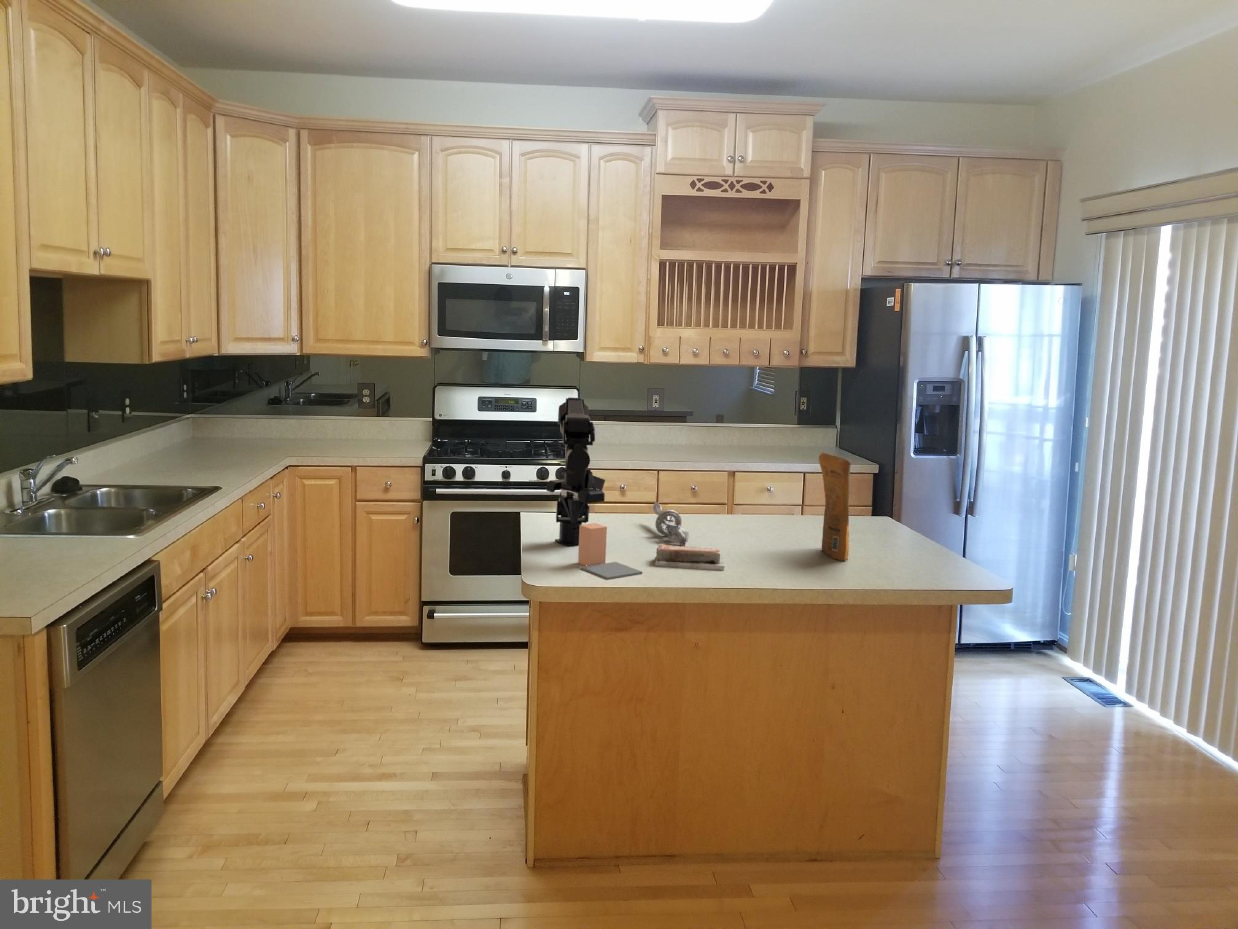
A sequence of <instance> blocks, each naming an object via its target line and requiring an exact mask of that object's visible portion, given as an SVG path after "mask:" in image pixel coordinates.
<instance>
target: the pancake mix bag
mask: <svg viewBox="0 0 1238 929" xmlns="http://www.w3.org/2000/svg"><path fill="white" fill-rule="evenodd" d="M818 463H819V466H820V470H821V473H822V482H823V491H824V492H823V493H824V498H825V499H824V500H825V503H824V504H825V506H824V513H823V524H822V525H823V526H822V536H821V537H822V539H821V549H822V550H823V551H822V550H821V551H822V552H824V553H825V554H826V555H828V556H829V557H830V558H831V557H832V558H833V559H834V560H836V559H838V560H837V561H841V562H843V561H844V562H845V561H846V560H848V559H849V552H850V543H849V542H850V533H849V532H850V525H849V522H850V520H849V519H850V518H849V517H850V504H849V502H850V475H851V466H852V463H851V462H850V461H849V460H848V459H845V458H843V457H840V456H838V455H837V456H836V455H832V454H828V453H825V452H821V453H820V454H819V455H818ZM832 558H831V559H832Z"/></svg>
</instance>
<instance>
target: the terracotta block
mask: <svg viewBox="0 0 1238 929" xmlns="http://www.w3.org/2000/svg"><path fill="white" fill-rule="evenodd" d="M607 529H608V527H607V526H606V525H602V524H599V523H596V522H592V523H582V525H580V528H579V544H578V556H577V558H578V559H577V560H578V561H577V563H578V562H579V563H578V564H580V565H583V566H585V565H587V566H591V565H598V564H604V563H606V555H607V554H606V553H607V552H606V551H607Z"/></svg>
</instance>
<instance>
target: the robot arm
mask: <svg viewBox="0 0 1238 929" xmlns="http://www.w3.org/2000/svg"><path fill="white" fill-rule="evenodd" d="M557 415H558V416H557V424H558V425H559V426H560V427H559V428H560V429H559V431H560V433H561V435H562V445H564V446H565V448H564V450H565V451H564V452H565V454H564V455H565V456H564V463H565V464H564V467H561V472H562V473H564V478H561V479H552V480H549V481H548V482H547V483H546V491H547V492H549V493H555V491H558V490H559V491H560V493H559V495H558V500H556V507H555V510H556V511H555V522H556V523H559V533H558V534H559V536H558V537H559V538H556V539H554V542H555V543H559V544H560V545H564V546H566V547H567V546H568V547H569V546H579V528H580V525H583V524H587V523H588V522H589V514H590V506H589V504H593V503H602V502H606V500H605V498H606V497H605V495H606V494H605V492H604V491H603V489H604V486H605V483H606V479H604V478H601V477H598V476H596V475H593V471H592V470H591V468H588V467H589V466H590V463H591V458H590V454H589V447H588V446H593V445H594V442H595V440H596V431H595V429H596V428H595V425H594V422H593V421H591V418H590V416H589V406H588V405H586V404H585V400H584V398H583V397H567V398H565V402H563V403H561V404H560V405H559V406H558V413H557Z"/></svg>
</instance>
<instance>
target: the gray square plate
mask: <svg viewBox="0 0 1238 929" xmlns="http://www.w3.org/2000/svg"><path fill="white" fill-rule="evenodd" d="M580 569H581V570H583V571H585V572H589V573H590V574H592V575H595V576H598V577H600V578H603V579H606V580H612V579H619V578H624V577H631V576H637V575H642V574H643V571H642V570H639V569H636V568H633V567H631V566H629V565H626V564H623V563H620V562H617V561H612V562H605V563H604V564H598V565H591V566H585V565H584V566H581V567H580Z"/></svg>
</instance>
